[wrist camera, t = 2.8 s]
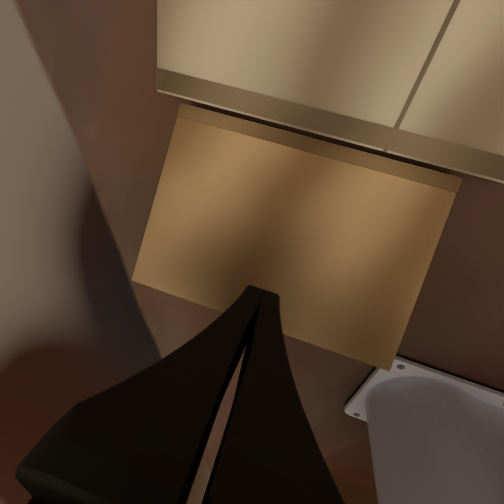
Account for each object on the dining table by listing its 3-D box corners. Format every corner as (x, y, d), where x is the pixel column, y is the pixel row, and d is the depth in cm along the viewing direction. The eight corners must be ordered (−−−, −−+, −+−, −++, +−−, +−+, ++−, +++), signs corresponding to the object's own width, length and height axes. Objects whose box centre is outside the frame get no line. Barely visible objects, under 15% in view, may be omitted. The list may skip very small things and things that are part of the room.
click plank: (443, 184, 12) (463, 177, 10) (379, 359, 12) (390, 372, 11) (190, 115, 13) (180, 101, 12) (144, 276, 14) (130, 280, 12)
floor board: (717, -104, 7) (816, -159, 5) (500, 179, 11) (525, 189, 10) (183, -180, 8) (155, -238, 7) (173, 93, 13) (155, 91, 11)
